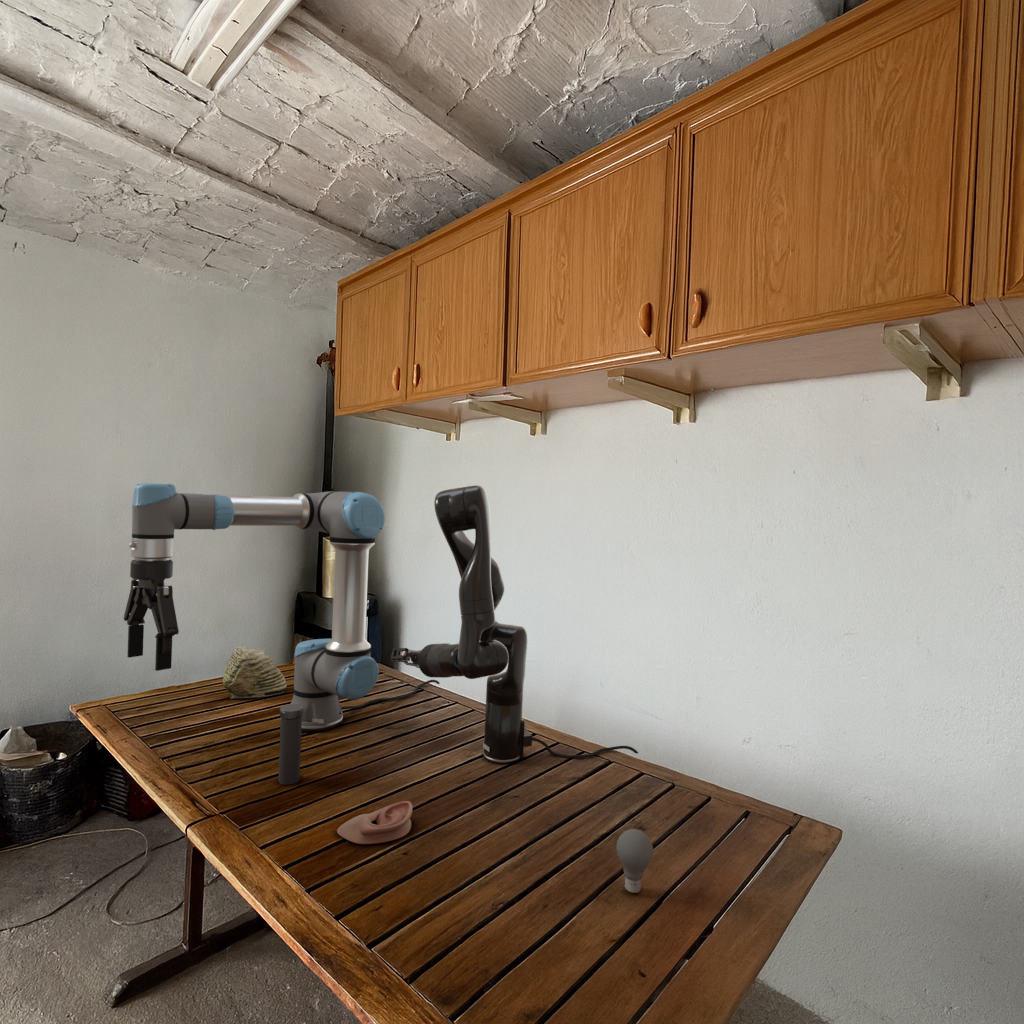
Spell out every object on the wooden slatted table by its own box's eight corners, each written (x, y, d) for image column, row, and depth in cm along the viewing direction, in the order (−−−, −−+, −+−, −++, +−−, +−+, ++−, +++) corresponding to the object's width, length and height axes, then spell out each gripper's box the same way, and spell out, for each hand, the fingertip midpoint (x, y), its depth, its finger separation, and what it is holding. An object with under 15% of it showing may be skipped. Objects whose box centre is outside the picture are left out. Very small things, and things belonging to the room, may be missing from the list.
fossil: (218, 695, 195) (220, 647, 195) (278, 685, 208) (279, 640, 207) (228, 703, 189) (230, 653, 188) (289, 692, 201) (290, 645, 201)
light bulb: (610, 879, 108) (613, 822, 108) (644, 879, 109) (647, 822, 109) (619, 902, 102) (622, 840, 102) (655, 901, 103) (658, 840, 103)
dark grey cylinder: (276, 785, 138) (278, 713, 138) (281, 776, 143) (283, 706, 142) (297, 784, 139) (299, 713, 138) (301, 775, 143) (304, 706, 143)
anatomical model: (329, 818, 117) (357, 790, 128) (328, 839, 117) (356, 810, 128) (397, 828, 114) (419, 799, 126) (396, 850, 114) (418, 819, 126)
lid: (277, 719, 138) (277, 711, 138) (282, 711, 143) (283, 704, 143) (300, 719, 138) (300, 711, 138) (305, 711, 143) (305, 704, 143)
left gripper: (108, 554, 134) (104, 654, 134) (159, 565, 118) (155, 678, 119) (146, 552, 140) (143, 648, 140) (199, 563, 124) (195, 671, 124)
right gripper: (471, 651, 148) (436, 653, 160) (419, 635, 140) (386, 638, 153) (464, 684, 145) (429, 683, 157) (410, 669, 138) (378, 669, 150)
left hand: (148, 662), depth 129 cm, fingers open, 13 cm apart
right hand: (408, 661), depth 155 cm, fingers open, 8 cm apart
